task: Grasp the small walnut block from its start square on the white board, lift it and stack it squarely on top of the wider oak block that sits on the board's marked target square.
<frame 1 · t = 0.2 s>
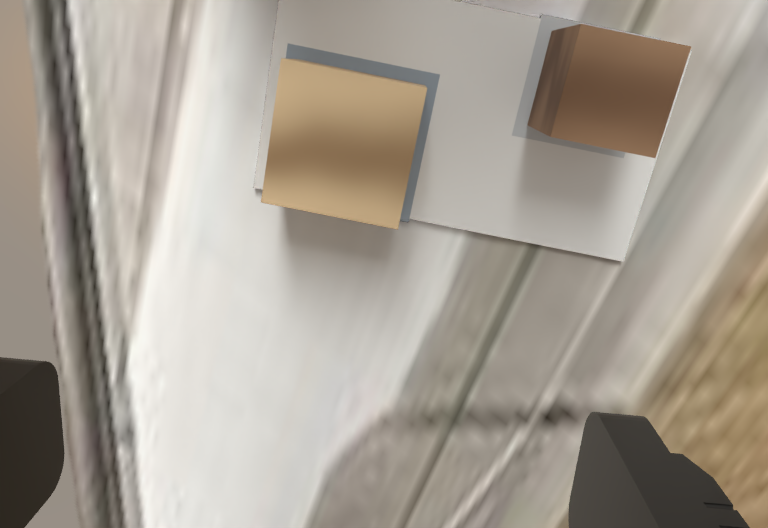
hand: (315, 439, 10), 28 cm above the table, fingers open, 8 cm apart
walnut block: (584, 88, 35), resting on white board
oak block: (350, 136, 36), resting on white board
white board: (462, 121, 36), on the table
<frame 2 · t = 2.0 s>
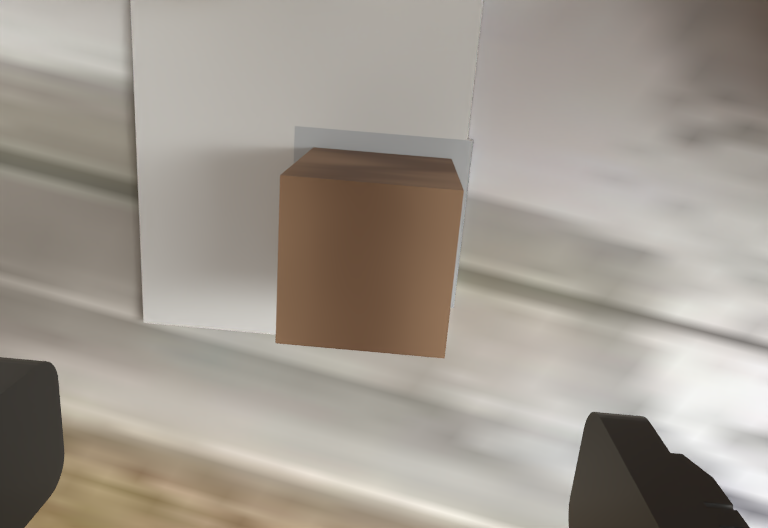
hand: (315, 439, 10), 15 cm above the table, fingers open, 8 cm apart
walnut block: (377, 220, 24), resting on white board
white board: (305, 44, 22), on the table
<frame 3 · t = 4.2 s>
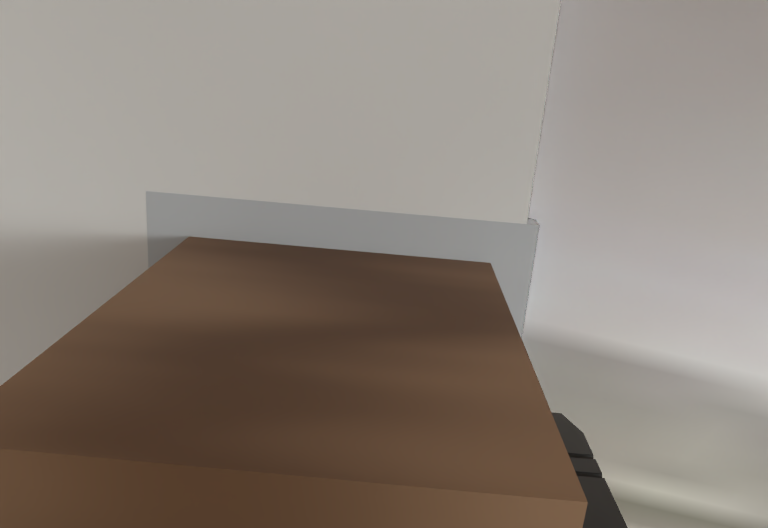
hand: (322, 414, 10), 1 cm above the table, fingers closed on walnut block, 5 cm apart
walnut block: (331, 384, 11), resting on white board, touching gripper
white board: (162, 9, 10), on the table
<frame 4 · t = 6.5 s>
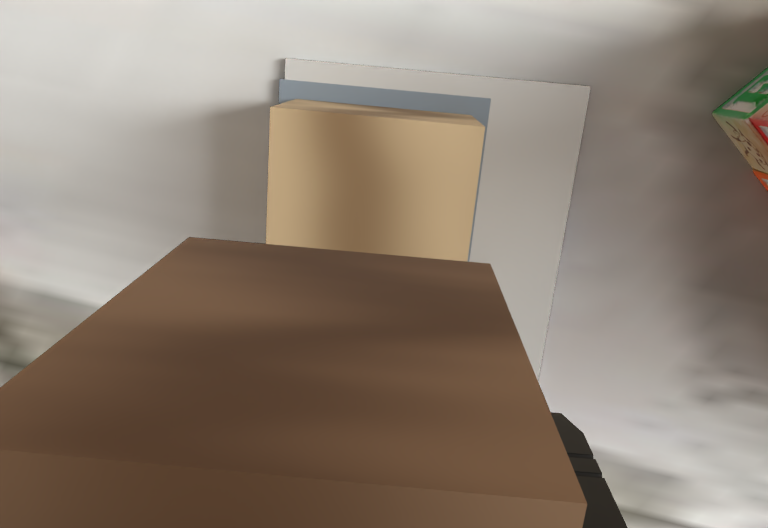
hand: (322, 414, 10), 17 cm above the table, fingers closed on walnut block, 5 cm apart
walnut block: (331, 385, 11), point 16 cm above the table, touching gripper
oak block: (376, 193, 26), resting on white board
white board: (409, 326, 29), on the table
when the fingers open (8 cm above the table, at t = 9.2 s): walnut block drops 1 cm, resting on oak block.
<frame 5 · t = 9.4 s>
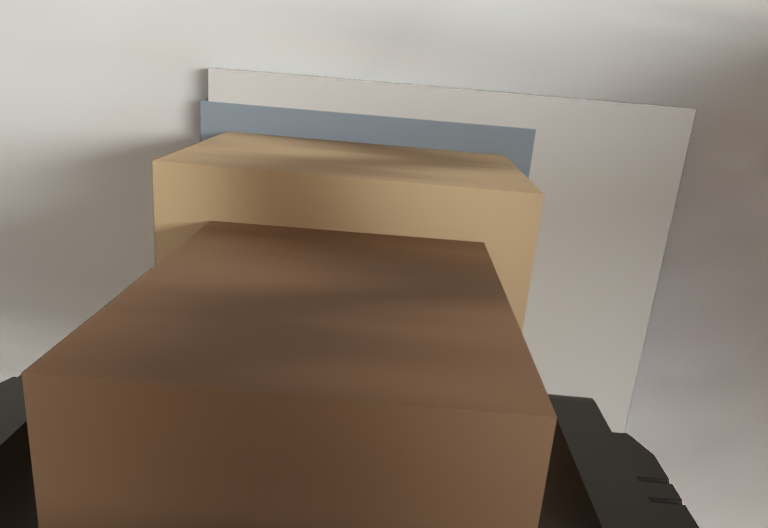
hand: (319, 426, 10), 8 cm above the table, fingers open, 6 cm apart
walnut block: (340, 355, 12), point 5 cm above the table, touching oak block
oak block: (356, 274, 17), resting on white board, touching walnut block
white board: (409, 462, 19), on the table
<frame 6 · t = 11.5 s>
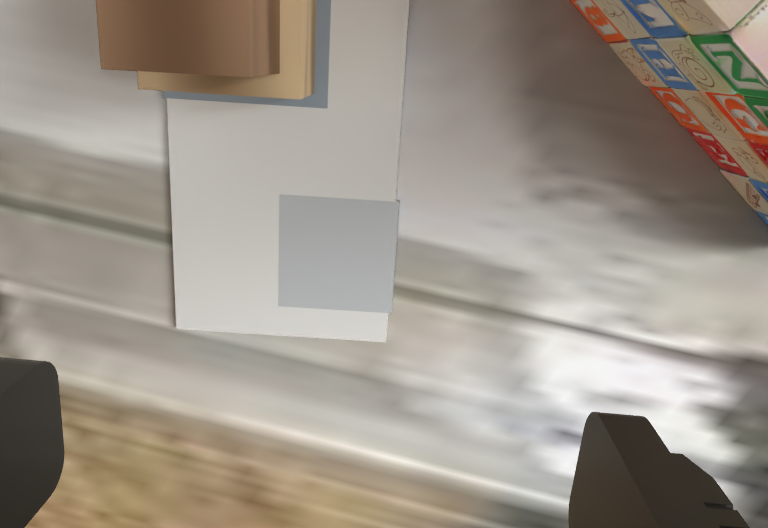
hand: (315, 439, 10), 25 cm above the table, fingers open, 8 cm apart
walnut block: (219, 7, 26), point 5 cm above the table, touching oak block
oak block: (244, 15, 31), resting on white board, touching walnut block
stack of blocks: (709, 62, 32), on the table
white board: (285, 140, 33), on the table
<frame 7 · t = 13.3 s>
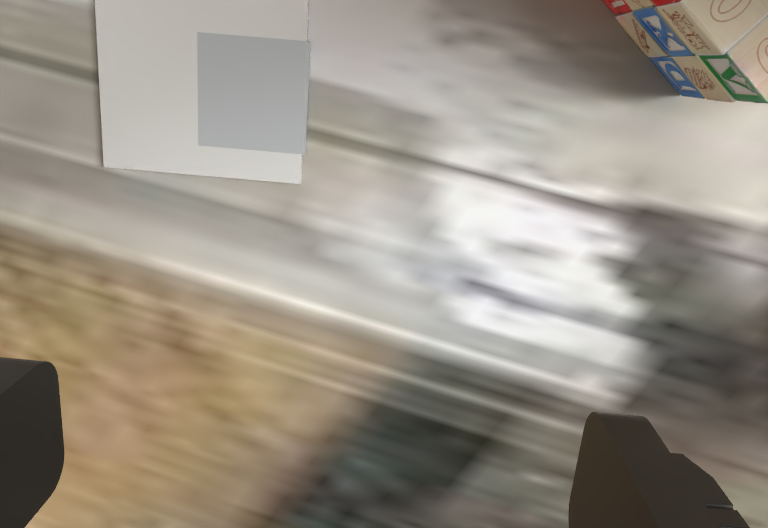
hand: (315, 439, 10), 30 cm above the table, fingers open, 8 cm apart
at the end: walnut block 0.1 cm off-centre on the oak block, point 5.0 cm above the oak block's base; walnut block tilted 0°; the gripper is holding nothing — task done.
